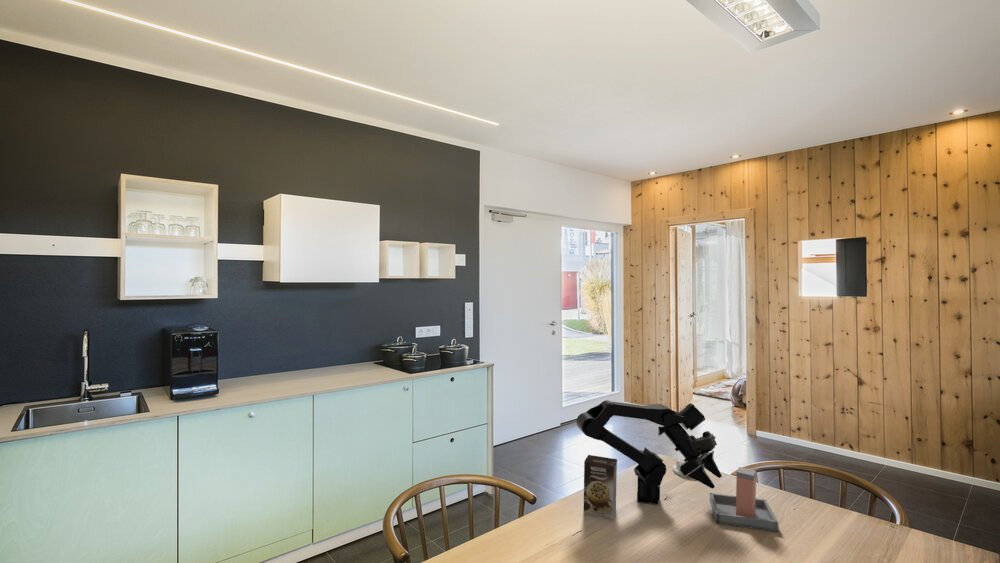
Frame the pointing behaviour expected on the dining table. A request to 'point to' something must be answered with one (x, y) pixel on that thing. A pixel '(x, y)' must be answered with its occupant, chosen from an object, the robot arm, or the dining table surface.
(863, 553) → the dining table surface
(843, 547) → the dining table surface
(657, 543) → the dining table surface
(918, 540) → the dining table surface
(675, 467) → the white round piece
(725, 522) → the tray
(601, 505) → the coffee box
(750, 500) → the pink and gray block
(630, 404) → the robot arm
